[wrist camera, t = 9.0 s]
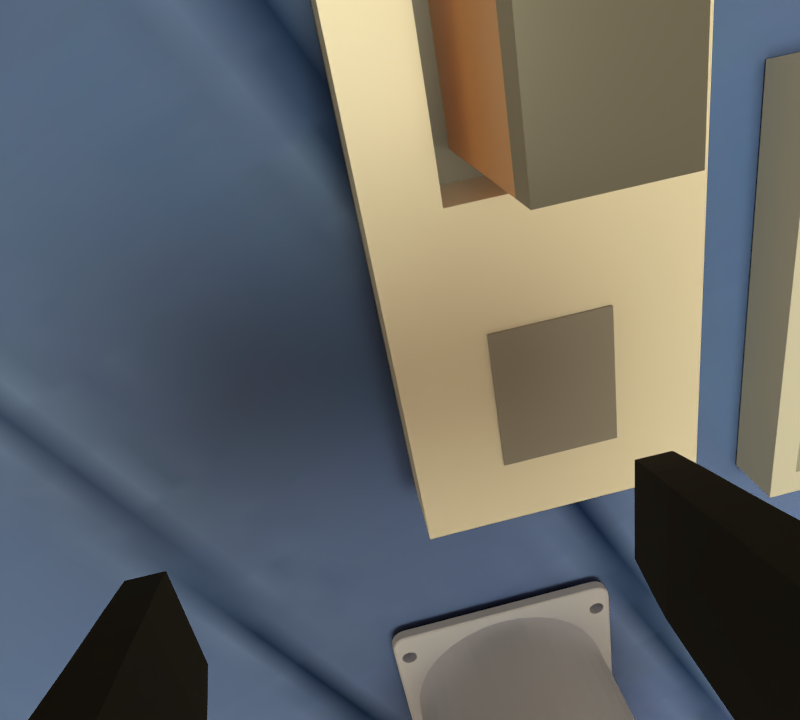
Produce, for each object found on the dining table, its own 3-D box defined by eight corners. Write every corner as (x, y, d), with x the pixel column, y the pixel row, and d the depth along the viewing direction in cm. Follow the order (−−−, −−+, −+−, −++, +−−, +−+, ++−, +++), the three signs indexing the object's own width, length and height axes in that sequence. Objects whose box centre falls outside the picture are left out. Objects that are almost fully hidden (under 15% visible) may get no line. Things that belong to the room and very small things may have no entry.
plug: (567, 122, 16) (705, 170, 11) (449, 149, 16) (530, 210, 11) (555, -68, 14) (714, -121, 9) (421, -41, 14) (504, -78, 9)
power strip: (653, 426, 22) (697, 473, 19) (414, 485, 21) (431, 541, 19) (653, -318, 13) (732, -389, 11) (256, -245, 13) (252, -303, 10)
